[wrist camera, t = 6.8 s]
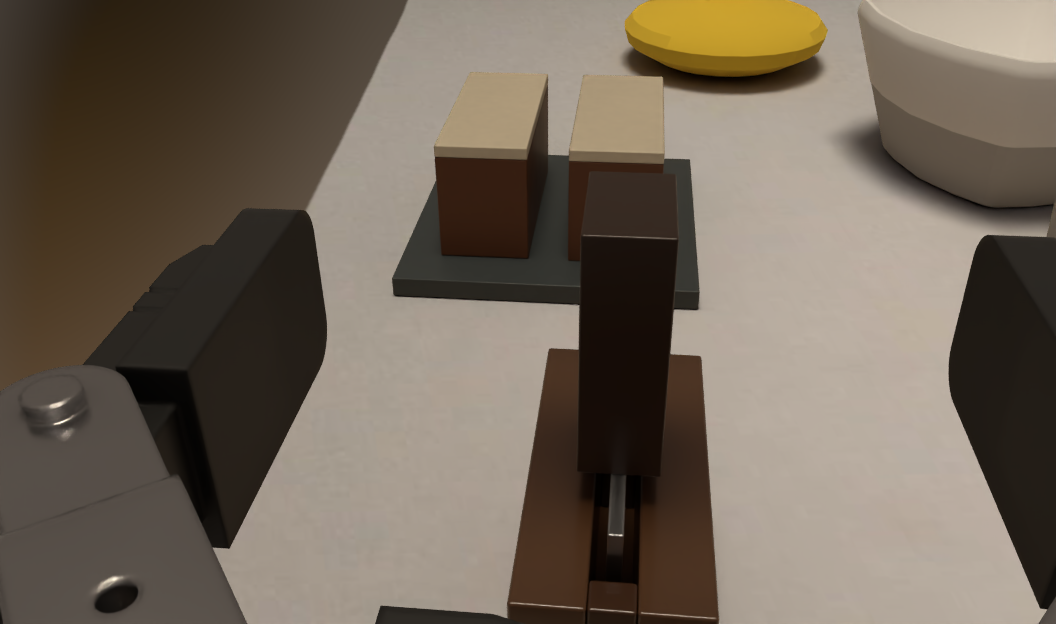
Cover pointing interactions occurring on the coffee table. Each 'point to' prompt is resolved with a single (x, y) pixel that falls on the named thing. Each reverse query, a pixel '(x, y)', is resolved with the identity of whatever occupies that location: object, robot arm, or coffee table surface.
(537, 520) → the knife block
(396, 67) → the coffee table surface
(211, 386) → the robot arm
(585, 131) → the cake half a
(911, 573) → the coffee table surface
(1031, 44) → the bowl
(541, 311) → the coffee table surface
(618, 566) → the knife
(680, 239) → the cake board
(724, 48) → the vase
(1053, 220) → the teacup
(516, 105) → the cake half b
